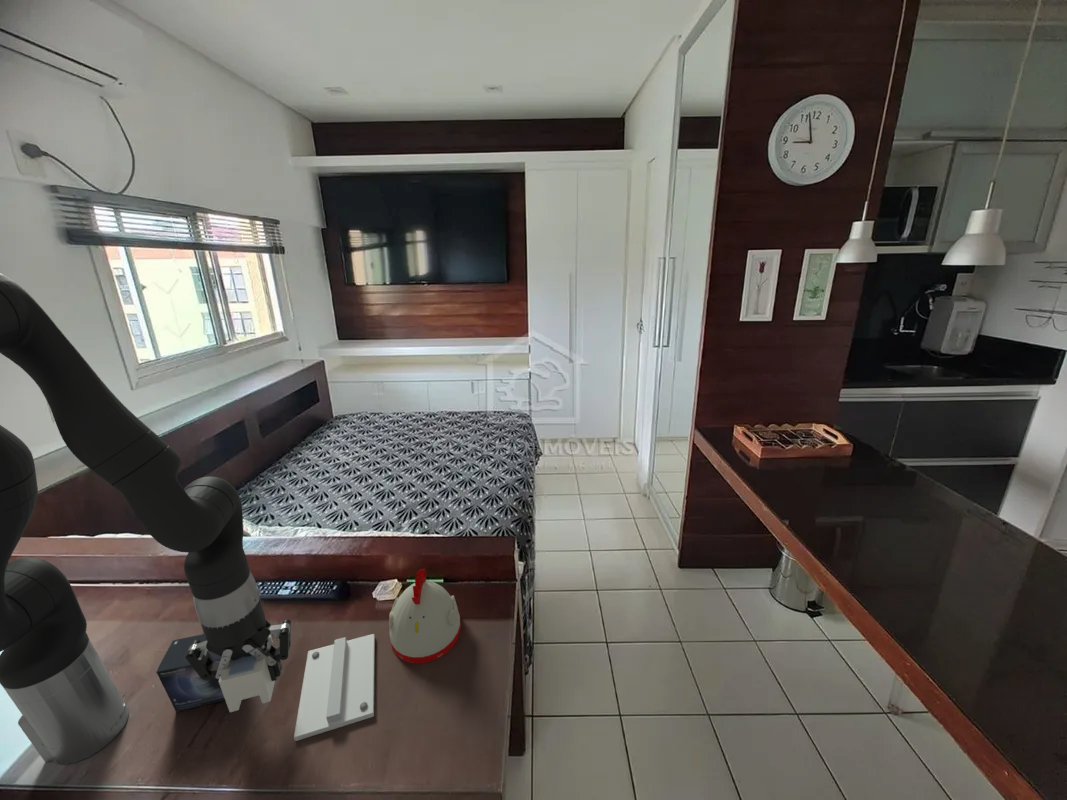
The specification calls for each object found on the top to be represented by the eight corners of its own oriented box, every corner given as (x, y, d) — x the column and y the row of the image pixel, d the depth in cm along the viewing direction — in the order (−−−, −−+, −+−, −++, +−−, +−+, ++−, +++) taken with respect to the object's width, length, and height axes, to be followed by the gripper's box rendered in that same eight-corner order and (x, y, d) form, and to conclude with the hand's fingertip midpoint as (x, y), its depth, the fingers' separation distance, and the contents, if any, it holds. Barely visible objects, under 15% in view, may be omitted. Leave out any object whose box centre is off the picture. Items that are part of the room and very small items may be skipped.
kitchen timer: (382, 664, 82) (369, 605, 77) (400, 605, 95) (390, 550, 90) (456, 661, 83) (449, 602, 77) (464, 603, 96) (459, 548, 90)
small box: (173, 716, 74) (152, 673, 70) (190, 680, 80) (171, 638, 76) (243, 698, 77) (227, 656, 73) (254, 665, 83) (239, 624, 79)
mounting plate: (295, 741, 70) (291, 730, 69) (309, 654, 84) (306, 645, 83) (373, 716, 74) (371, 706, 73) (374, 637, 88) (372, 627, 87)
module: (229, 712, 68) (218, 680, 65) (241, 671, 74) (231, 640, 71) (270, 701, 70) (260, 669, 67) (278, 662, 76) (270, 631, 73)
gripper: (160, 638, 60) (194, 718, 66) (279, 612, 64) (299, 689, 70) (181, 596, 66) (210, 673, 73) (287, 575, 71) (306, 649, 77)
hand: (254, 681), depth 71 cm, fingers closed on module, 5 cm apart
